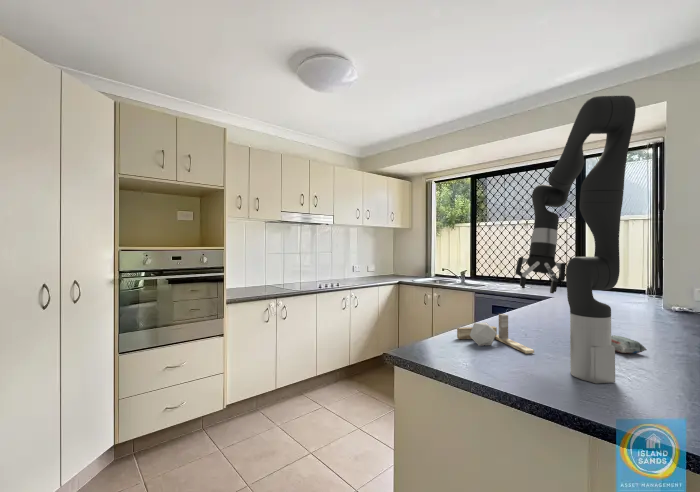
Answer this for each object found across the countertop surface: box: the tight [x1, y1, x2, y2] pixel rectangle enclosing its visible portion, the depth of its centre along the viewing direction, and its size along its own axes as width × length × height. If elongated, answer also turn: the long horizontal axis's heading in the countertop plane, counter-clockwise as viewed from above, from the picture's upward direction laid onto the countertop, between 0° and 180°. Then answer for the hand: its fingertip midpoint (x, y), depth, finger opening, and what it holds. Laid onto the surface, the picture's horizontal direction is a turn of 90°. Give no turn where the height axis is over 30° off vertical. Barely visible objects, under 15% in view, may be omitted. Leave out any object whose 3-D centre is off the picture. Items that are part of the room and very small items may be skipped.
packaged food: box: [611, 335, 647, 354], centre depth 114 cm, size 9×12×5 cm
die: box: [469, 322, 498, 347], centre depth 122 cm, size 8×9×10 cm
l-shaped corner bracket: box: [456, 313, 535, 355], centre depth 120 cm, size 22×17×10 cm
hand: (537, 290), depth 110 cm, fingers open, 8 cm apart
